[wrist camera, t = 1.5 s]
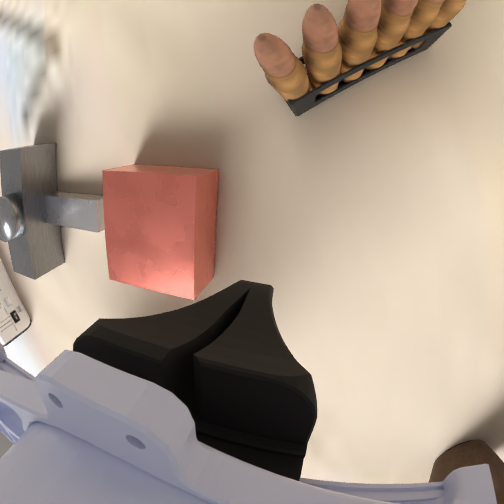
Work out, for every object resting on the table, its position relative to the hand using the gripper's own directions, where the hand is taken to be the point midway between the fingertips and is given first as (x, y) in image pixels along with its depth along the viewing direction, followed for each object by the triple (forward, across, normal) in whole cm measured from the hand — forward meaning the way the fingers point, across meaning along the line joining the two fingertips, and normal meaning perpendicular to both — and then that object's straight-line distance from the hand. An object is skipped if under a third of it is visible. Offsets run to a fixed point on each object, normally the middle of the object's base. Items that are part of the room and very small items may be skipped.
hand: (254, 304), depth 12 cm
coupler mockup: (+9, +20, 0) cm, 22 cm away
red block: (+9, +8, 0) cm, 13 cm away
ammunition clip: (+10, -4, -12) cm, 16 cm away
